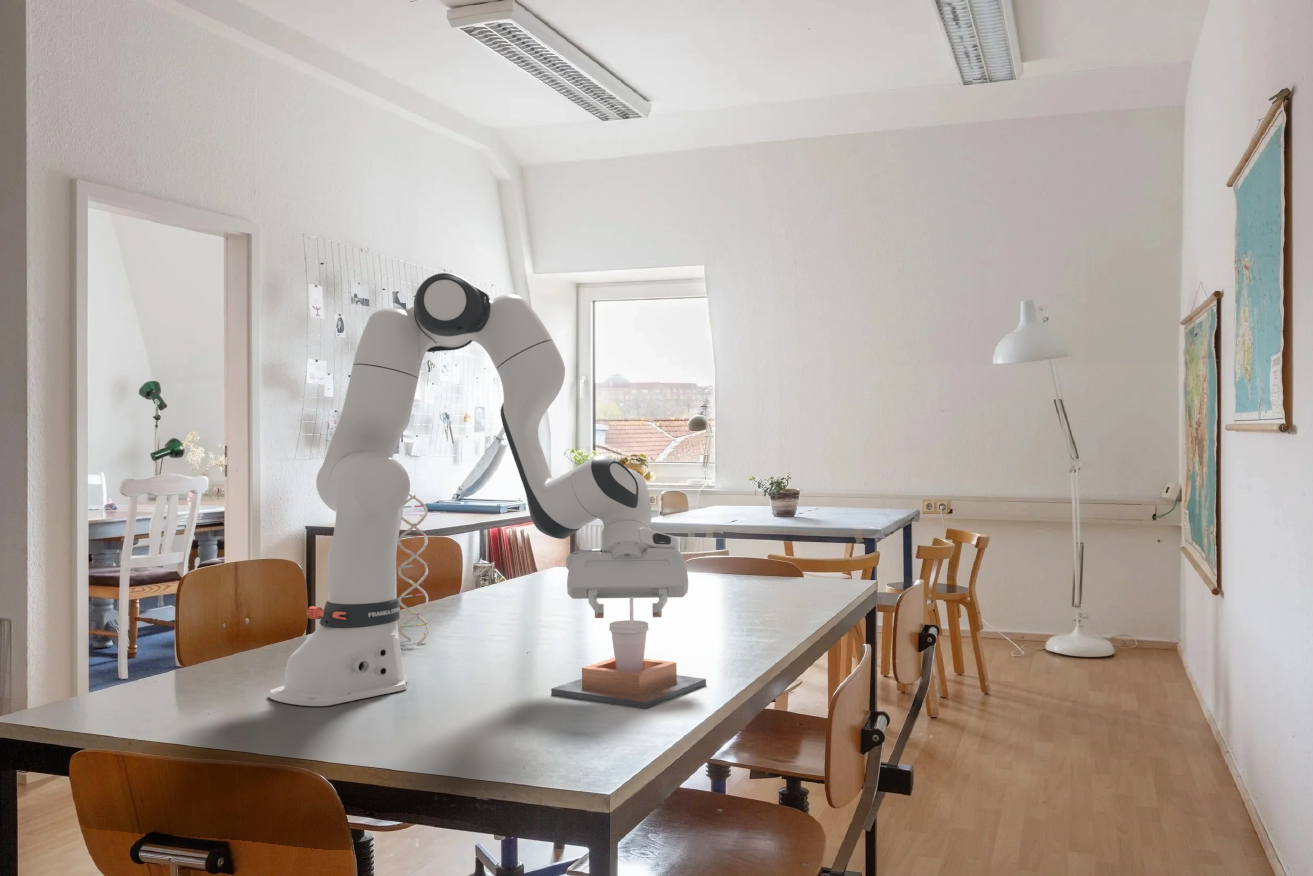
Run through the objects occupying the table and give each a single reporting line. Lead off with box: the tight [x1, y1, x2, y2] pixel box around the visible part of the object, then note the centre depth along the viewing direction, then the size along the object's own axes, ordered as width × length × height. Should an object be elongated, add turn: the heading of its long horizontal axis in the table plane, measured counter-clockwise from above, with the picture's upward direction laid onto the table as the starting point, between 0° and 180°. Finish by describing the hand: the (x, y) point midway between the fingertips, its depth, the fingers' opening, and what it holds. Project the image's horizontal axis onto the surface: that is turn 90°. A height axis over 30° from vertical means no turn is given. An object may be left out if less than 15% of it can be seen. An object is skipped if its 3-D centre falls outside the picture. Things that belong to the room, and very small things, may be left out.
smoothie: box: [608, 597, 649, 672], centre depth 170 cm, size 6×6×14 cm
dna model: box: [397, 493, 430, 646], centre depth 213 cm, size 7×6×30 cm
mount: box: [550, 657, 707, 710], centre depth 170 cm, size 18×18×4 cm
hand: (628, 615), depth 171 cm, fingers open, 8 cm apart
